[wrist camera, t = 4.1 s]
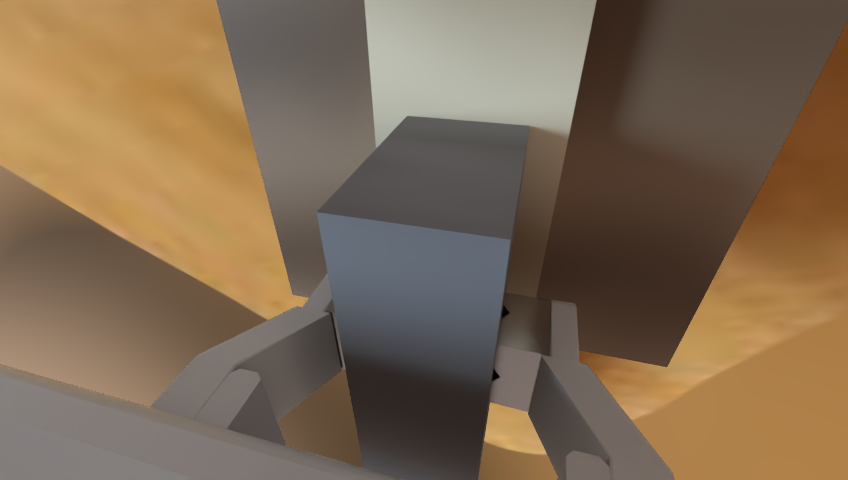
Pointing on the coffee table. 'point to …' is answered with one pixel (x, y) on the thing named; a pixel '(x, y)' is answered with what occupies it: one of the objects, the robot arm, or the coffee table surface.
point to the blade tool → (447, 215)
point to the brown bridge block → (586, 149)
